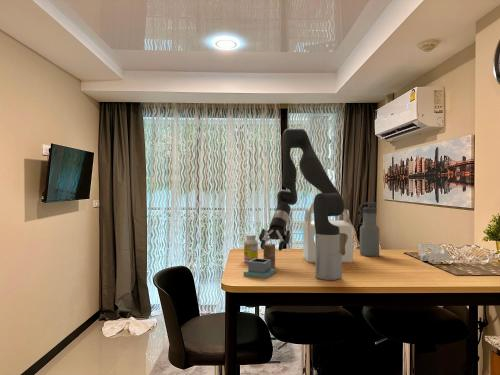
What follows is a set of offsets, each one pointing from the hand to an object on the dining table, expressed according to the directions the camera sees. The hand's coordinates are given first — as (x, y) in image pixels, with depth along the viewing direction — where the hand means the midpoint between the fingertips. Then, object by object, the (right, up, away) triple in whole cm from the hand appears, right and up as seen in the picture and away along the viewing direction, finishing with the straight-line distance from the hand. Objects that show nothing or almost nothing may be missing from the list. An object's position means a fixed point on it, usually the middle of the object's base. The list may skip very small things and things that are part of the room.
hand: (270, 249), depth 151 cm
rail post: (-1, -8, -2) cm, 8 cm away
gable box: (+29, -8, +14) cm, 33 cm away
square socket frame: (-5, -6, -15) cm, 17 cm away
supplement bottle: (-9, -8, +10) cm, 15 cm away
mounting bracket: (+79, -8, +8) cm, 80 cm away
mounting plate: (-5, -7, -15) cm, 17 cm away
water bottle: (+54, -8, +26) cm, 61 cm away
